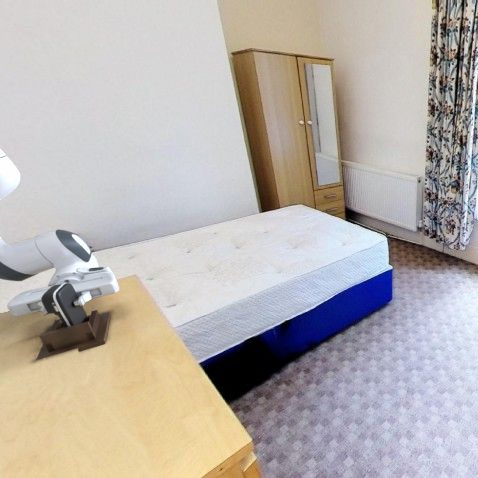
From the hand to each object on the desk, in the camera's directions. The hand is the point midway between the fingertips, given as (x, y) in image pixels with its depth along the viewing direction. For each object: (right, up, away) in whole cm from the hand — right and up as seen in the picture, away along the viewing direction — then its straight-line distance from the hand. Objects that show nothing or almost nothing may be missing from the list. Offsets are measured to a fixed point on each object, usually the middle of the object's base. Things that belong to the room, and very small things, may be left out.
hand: (62, 307), depth 81 cm
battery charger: (-1, -5, +3) cm, 6 cm away
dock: (-1, -9, +5) cm, 10 cm away
